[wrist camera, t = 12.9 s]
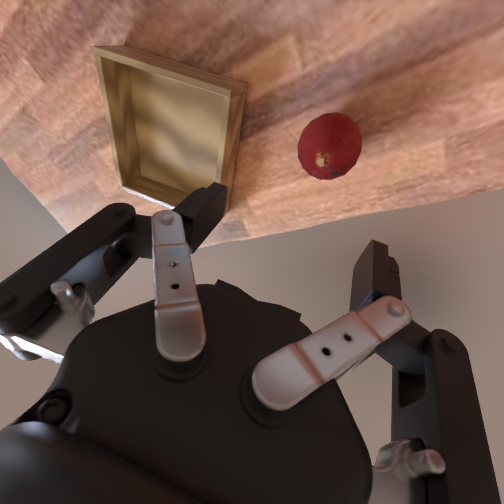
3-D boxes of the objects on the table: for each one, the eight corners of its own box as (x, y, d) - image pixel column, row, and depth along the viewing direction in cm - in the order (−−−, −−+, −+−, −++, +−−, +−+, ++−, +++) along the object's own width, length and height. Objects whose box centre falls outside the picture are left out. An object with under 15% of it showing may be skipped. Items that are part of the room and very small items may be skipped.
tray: (123, 45, 29) (92, 45, 26) (248, 84, 27) (231, 90, 24) (138, 176, 40) (118, 188, 37) (228, 211, 38) (215, 227, 35)
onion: (370, 150, 27) (369, 181, 21) (318, 172, 30) (304, 204, 24) (352, 93, 25) (344, 111, 19) (297, 123, 28) (276, 146, 22)
